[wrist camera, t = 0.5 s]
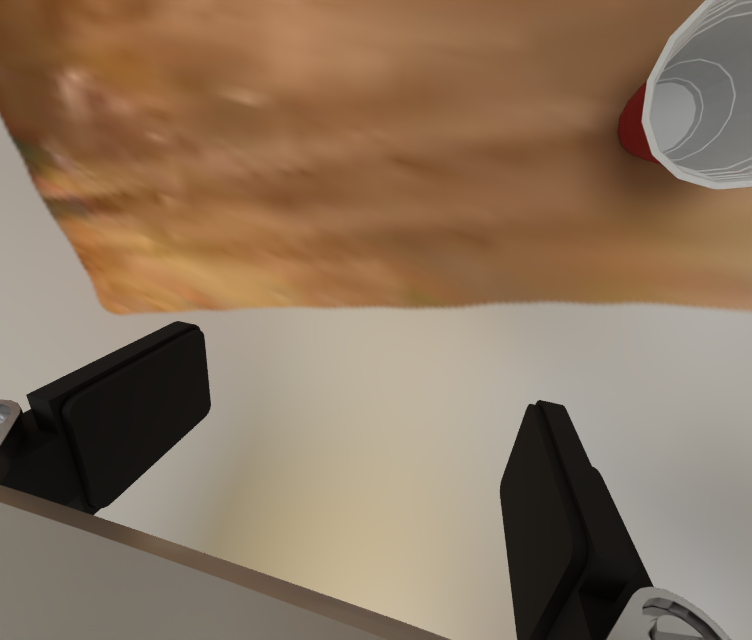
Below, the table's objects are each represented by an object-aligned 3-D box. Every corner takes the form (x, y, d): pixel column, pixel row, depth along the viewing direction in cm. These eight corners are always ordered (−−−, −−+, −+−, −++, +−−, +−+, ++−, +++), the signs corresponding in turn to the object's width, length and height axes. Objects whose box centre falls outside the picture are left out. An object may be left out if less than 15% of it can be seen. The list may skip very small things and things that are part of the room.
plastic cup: (649, 12, 27) (775, -102, 16) (769, 82, 27) (978, 14, 16) (555, 150, 32) (603, 133, 21) (657, 210, 32) (760, 224, 21)
